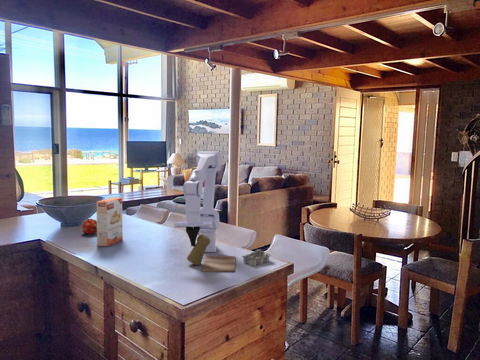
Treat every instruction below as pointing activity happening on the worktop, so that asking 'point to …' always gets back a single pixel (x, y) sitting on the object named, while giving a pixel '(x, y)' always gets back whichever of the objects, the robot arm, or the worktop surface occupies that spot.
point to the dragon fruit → (89, 226)
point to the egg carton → (256, 257)
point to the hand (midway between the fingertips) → (193, 245)
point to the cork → (198, 250)
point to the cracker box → (109, 221)
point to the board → (219, 264)
